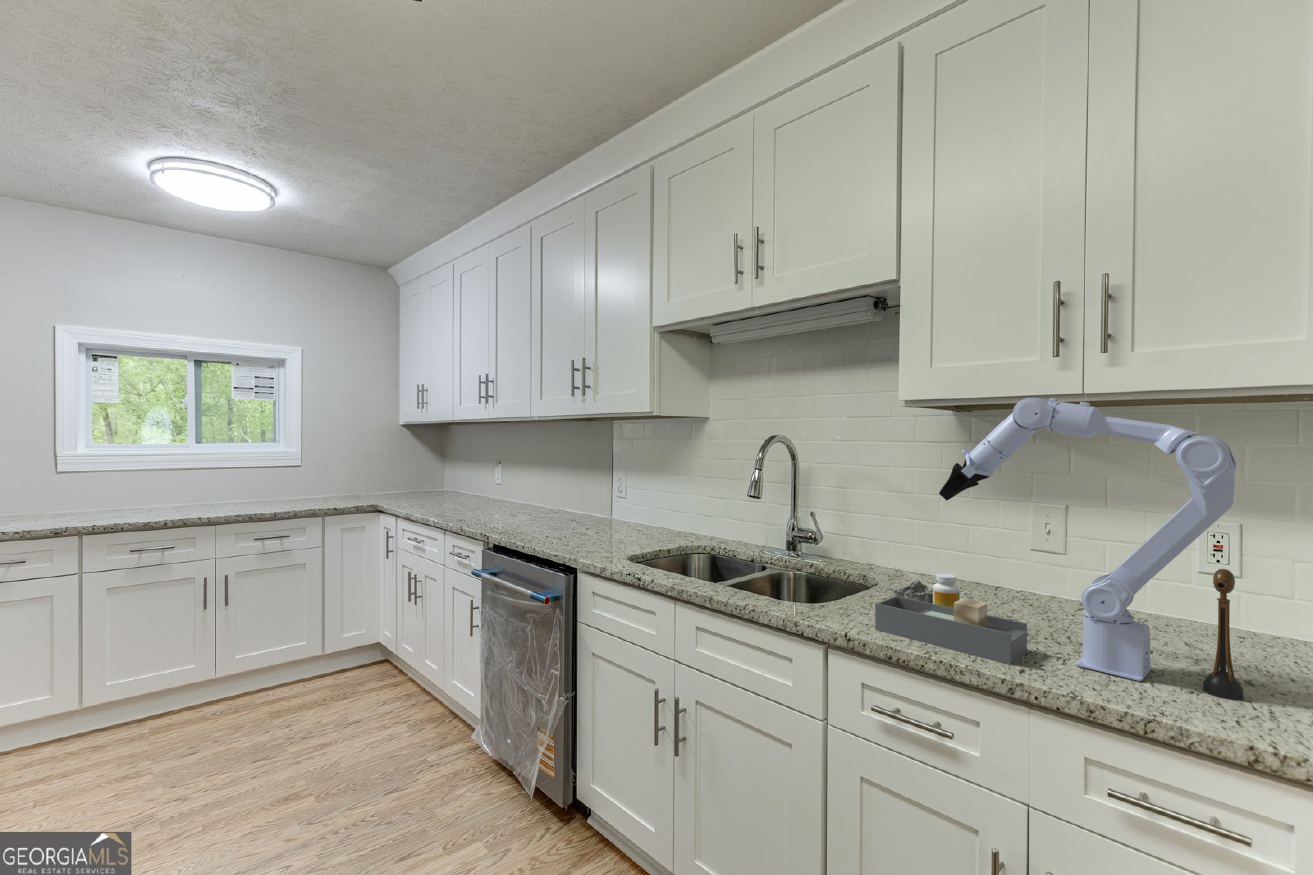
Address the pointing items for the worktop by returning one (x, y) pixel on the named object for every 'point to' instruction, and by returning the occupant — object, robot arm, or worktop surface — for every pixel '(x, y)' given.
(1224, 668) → the wooden tabletop sculpture
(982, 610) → the maple block
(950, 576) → the supplement bottle
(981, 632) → the grey drawer organizer tray
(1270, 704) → the worktop surface
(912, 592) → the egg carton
